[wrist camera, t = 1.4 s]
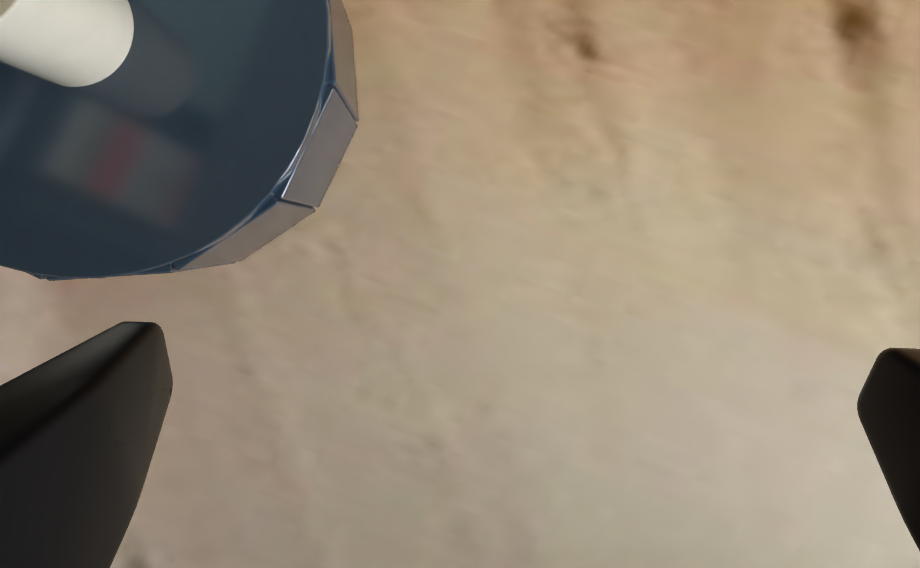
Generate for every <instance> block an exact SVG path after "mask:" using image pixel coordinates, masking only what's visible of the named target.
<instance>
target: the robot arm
mask: <svg viewBox="0 0 920 568" xmlns="http://www.w3.org/2000/svg"><path fill="white" fill-rule="evenodd" d="M172 386H173V380H172V373H171V368H170V363H169V358H168V353H167V348H166V343H165V338H164V334H163V331H162V329H161V327H160V326H159V325H157V324H156V323H153V322H121V323H119V324H117V325H115V326H113V327H111V328H109V329H107V330H105V331H104V332H102V333H100V334H98V335H96V336H94V337H92V338H90V339H88V340H86V341H85V342H83V343H81V344H79V345H77V346H75V347H73V348H71V349H69V350H67V351H65V352H64V353H62V354H60V355H58V356H56V357H54V358H52V359H50V360H48V361H46V362H44V363H43V364H41V365H39V366H37V367H35V368H33V369H31V370H29V371H27V372H25V373H24V374H22V375H20V376H18V377H16V378H14V379H12V380H10V381H8V382H6V383H4V384H3V385H1V386H0V568H110V566H111V564H112V562H113V559H114V557H115V555H116V553H117V550H118V548H119V546H120V544H121V541H122V539H123V537H124V535H125V532H126V530H127V528H128V525H129V523H130V521H131V518H132V516H133V513H134V511H135V508H136V506H137V503H138V500H139V497H140V494H141V491H142V488H143V485H144V482H145V479H146V475H147V472H148V469H149V466H150V462H151V459H152V456H153V453H154V450H155V446H156V443H157V440H158V437H159V433H160V430H161V427H162V424H163V421H164V417H165V414H166V411H167V408H168V404H169V401H170V398H171V394H172ZM857 410H858V415H859V418H860V421H861V423H862V425H863V428H864V430H865V432H866V435H867V437H868V439H869V442H870V444H871V446H872V449H873V451H874V453H875V456H876V458H877V460H878V463H879V465H880V467H881V470H882V472H883V474H884V477H885V479H886V481H887V484H888V486H889V488H890V491H891V493H892V495H893V498H894V500H895V502H896V505H897V507H898V509H899V511H900V513H901V516H902V518H903V520H904V522H905V524H906V526H907V528H908V530H909V532H910V534H911V536H912V538H913V539H914V541H915V543H916V545H917V547H918V549H919V550H920V349H910V348H889V349H886V350H884V351H882V352H881V353H880V354H879V355H878V357H877V359H876V361H875V363H874V365H873V367H872V369H871V371H870V374H869V376H868V378H867V380H866V382H865V384H864V386H863V388H862V390H861V393H860V395H859V397H858V402H857Z"/></svg>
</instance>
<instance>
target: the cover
mask: <svg viewBox="0 0 920 568" xmlns="http://www.w3.org/2000/svg"><path fill="white" fill-rule="evenodd" d="M358 120H359V115H358V102H357V89H356V75H355V62H354V49H353V35H352V28H351V25H350V22H349V19H348V16H347V13H346V11H345V8H344V5H343V2H342V0H0V266H4V267H7V268H11V269H15V270H19V271H23V272H26V273H28V274H30V275H32V276H35V277H37V278H39V279H47V280H49V281H55V280H70V279H86V278H106V277H116V276H131V275H146V274H161V273H173V272H180V271H186V270H193V269H200V268H206V267H213V266H219V265H226V264H233V263H236V262H238V261H242V260H244V259H245V258H247V257H248V256H250V255H251V254H253V253H254V252H256V251H257V250H259V249H260V248H261V247H263V246H264V245H266V244H267V243H269V242H270V241H272V240H273V239H275V238H276V237H278V236H279V235H281V234H282V233H284V232H285V231H287V230H288V229H290V228H291V227H293V226H294V225H296V224H297V223H299V222H300V221H302V220H303V219H305V218H306V217H308V216H309V215H311V214H312V213H314V212H315V208H314V207H317V208H318V207H319V206H320V204H321V202H322V200H323V198H324V195H325V193H326V191H327V189H328V187H329V185H330V183H331V181H332V179H333V177H334V175H335V173H336V171H337V168H338V166H339V164H340V162H341V160H342V158H343V156H344V154H345V152H346V150H347V148H348V146H349V144H350V141H351V139H352V137H353V135H354V133H355V131H356V129H357V124H356V122H358Z"/></svg>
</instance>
